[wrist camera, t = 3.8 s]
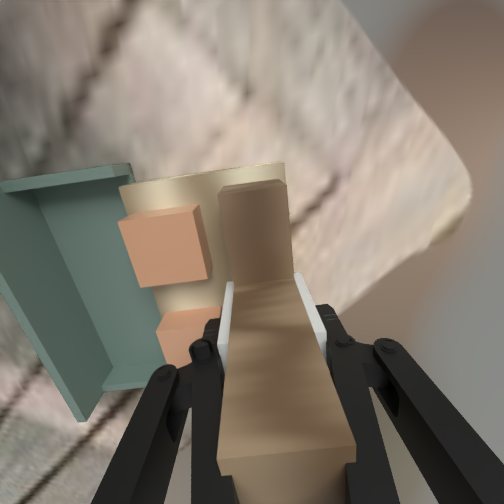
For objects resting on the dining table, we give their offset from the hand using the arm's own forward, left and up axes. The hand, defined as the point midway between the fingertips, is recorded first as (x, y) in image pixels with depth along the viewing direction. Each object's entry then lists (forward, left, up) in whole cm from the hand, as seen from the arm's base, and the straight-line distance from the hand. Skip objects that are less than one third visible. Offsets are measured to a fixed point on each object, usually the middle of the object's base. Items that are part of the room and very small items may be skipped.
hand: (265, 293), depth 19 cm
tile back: (-6, -4, -2) cm, 8 cm away
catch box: (-14, 0, -5) cm, 15 cm away
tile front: (-6, +5, -2) cm, 8 cm away
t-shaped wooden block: (0, 0, -2) cm, 2 cm away
